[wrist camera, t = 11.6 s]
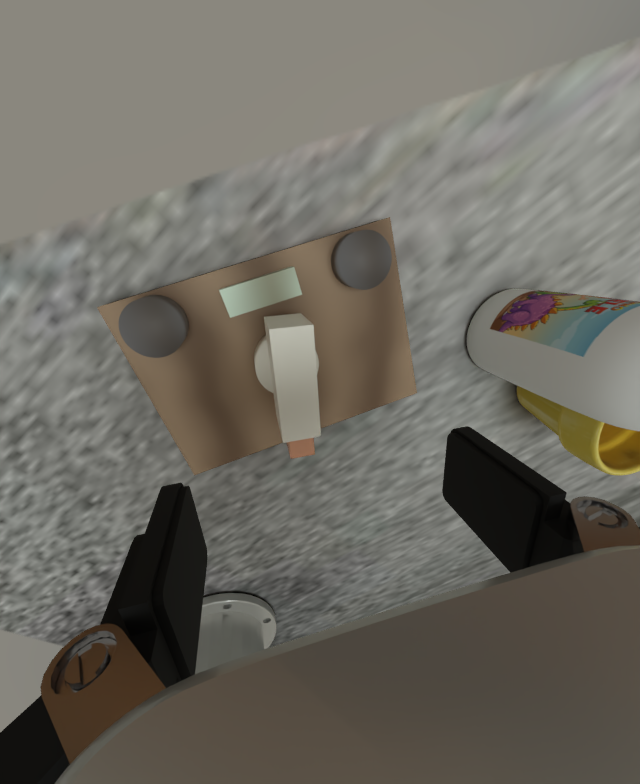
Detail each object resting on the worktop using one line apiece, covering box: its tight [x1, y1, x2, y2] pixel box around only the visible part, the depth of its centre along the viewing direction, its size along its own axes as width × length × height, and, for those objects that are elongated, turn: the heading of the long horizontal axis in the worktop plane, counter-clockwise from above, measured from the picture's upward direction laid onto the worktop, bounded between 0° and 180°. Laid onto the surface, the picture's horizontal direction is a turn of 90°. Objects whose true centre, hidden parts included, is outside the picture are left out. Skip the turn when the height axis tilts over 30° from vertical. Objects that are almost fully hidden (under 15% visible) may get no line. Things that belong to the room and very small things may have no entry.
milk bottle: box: [467, 289, 640, 431], centre depth 21 cm, size 8×8×20 cm
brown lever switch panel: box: [97, 217, 417, 475], centre depth 24 cm, size 20×14×4 cm
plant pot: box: [517, 386, 640, 475], centre depth 29 cm, size 10×10×10 cm
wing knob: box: [254, 313, 321, 459], centre depth 21 cm, size 9×4×6 cm, turn 4°
